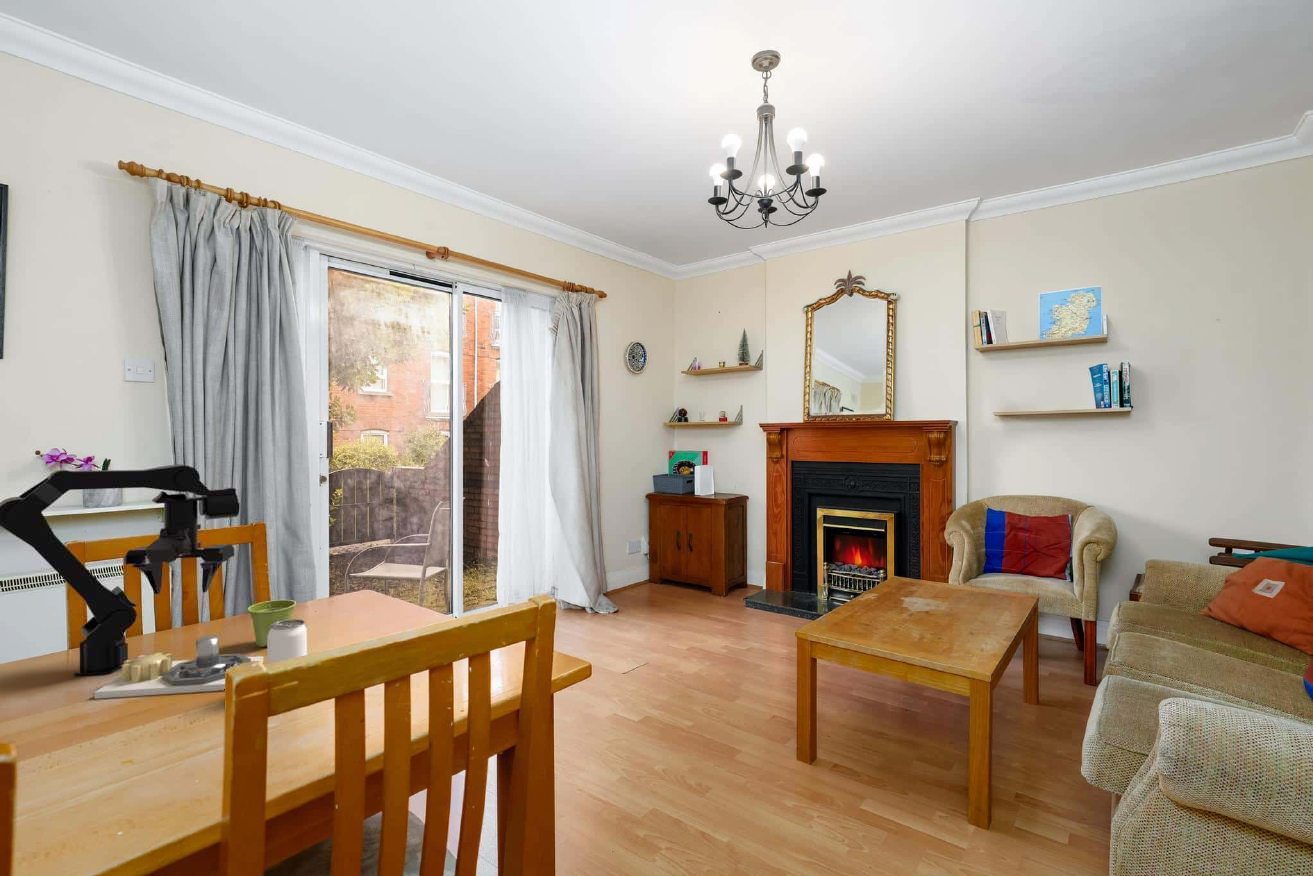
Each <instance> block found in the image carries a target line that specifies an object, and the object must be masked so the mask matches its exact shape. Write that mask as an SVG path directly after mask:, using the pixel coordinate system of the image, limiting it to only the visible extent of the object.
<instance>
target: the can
mask: <svg viewBox="0 0 1313 876" xmlns="http://www.w3.org/2000/svg"><path fill="white" fill-rule="evenodd" d="M270 628H271V629H270V631H269V633H268V638H267V646H266V647H267V648H266V650H267V654H266V655H267V664H269V663H274V662H276V661H282V660H288V659H291V658H297V657H300V656H305V655H307V656H308V629H307V627H306V625H305V621H304V620H303V619H299V618H298V619H291V620H284V621H280V622H276V623H274V624H272V625H271V626H270Z"/></svg>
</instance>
